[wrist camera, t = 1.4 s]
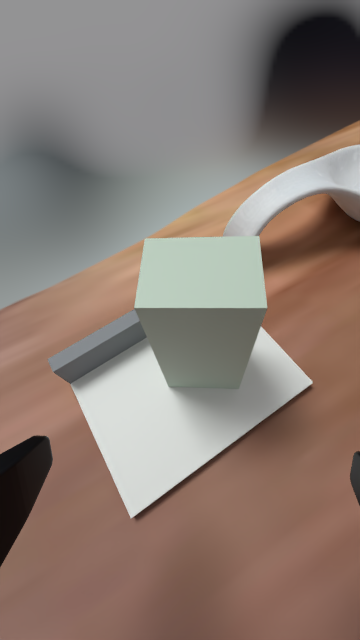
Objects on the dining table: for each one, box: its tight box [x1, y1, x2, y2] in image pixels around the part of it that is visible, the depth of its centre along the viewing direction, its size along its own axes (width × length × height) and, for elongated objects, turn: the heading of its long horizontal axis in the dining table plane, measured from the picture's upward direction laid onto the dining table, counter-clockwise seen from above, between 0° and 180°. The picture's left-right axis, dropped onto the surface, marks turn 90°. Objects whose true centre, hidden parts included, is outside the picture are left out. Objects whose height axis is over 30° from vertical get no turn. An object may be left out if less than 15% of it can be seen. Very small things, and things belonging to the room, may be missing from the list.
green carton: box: [134, 236, 267, 389], centre depth 18 cm, size 6×4×12 cm
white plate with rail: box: [48, 309, 313, 518], centre depth 22 cm, size 16×12×4 cm
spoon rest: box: [223, 145, 360, 237], centre depth 28 cm, size 24×12×7 cm, turn 113°
